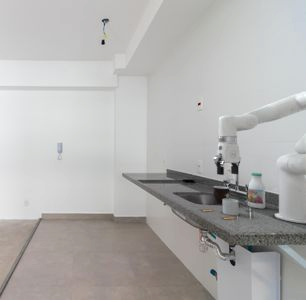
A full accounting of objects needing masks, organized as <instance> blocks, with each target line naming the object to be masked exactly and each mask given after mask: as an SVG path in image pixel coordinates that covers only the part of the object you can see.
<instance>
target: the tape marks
mask: <svg viewBox="0 0 306 300" xmlns="http://www.w3.org/2000/svg"><path fill="white" fill-rule="evenodd" d="M201 212H213V210H212V209H203V210H202V211H201ZM223 219H224V220H233V219H235V220H236V217H233V216H232V217H223Z"/></svg>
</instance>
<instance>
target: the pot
mask: <svg viewBox="0 0 306 300" xmlns="http://www.w3.org/2000/svg"><path fill="white" fill-rule="evenodd" d="M239 203H240V202H239V200H237V199H232V198H228V199H222V204H221V205H222V207H221V208H222V214H224V215H227V216H239V214H240V213H239V211H240V210H239V209H240V208H239V206H240V204H239Z"/></svg>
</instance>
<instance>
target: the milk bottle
mask: <svg viewBox="0 0 306 300" xmlns="http://www.w3.org/2000/svg"><path fill="white" fill-rule="evenodd" d="M262 176H263V174H262V173H261V172H251V180H250V182H249V183H248V187H247V206H248V207H249V208H254V209H265V208H266V186H265V184H264V182H263V180H262ZM249 203H250V205H251V206H250V205H249Z"/></svg>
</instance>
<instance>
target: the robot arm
mask: <svg viewBox="0 0 306 300" xmlns="http://www.w3.org/2000/svg"><path fill="white" fill-rule="evenodd" d="M302 111H306V90H305V91H301V92H298V93H295V94H292V95H289V96H286V97H285V98H281V99H279V100H276V101H274V102H271V103H267V104H266V105H263V106H260V107H259V108H256V109H254V110H251V111H248V112H246V113H243V114H239V115H231V114H230V115H222V116H219V118H218V144H217V150H216V156H214V157H213V161H214V164H215V167H216V175H217V176H224V175H225V164H231V166H230V174H232V175H239V166H240V164H241V160H242V157H241V156H240V147H239V144H238V132H242V131H249V130H252V129H255V128H256V127H257V126H258V125H260V124H264V123H269V122H273V121H274V122H275V121H278V120H281V119H284V118H286V117H289V116H292V115H294V114H297V113H300V112H302ZM294 151H295V152H296V153H287V154H283V155H281V156H279V157H278V158H277V160H276V169H277V173H278V212H277V213H274V217H275V218H276V219H278V220H282V221H285V222H290V223H296V224H306V132H305V133H304V134H303V135H302V137H301V138H300V139H299V140H298V141H297V142H296V143H295V145H294Z"/></svg>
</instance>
